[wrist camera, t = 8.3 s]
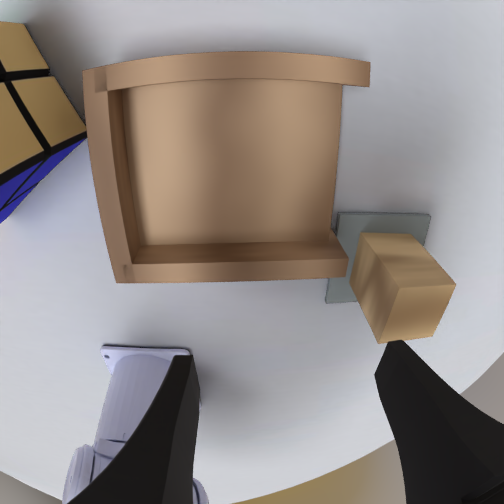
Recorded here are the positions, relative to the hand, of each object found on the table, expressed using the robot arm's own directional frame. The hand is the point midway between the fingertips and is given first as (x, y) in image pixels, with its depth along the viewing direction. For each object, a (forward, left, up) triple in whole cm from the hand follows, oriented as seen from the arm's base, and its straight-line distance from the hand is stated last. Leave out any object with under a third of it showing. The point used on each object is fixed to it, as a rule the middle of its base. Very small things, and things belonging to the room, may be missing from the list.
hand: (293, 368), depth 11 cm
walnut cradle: (+5, +2, -10) cm, 12 cm away
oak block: (-2, -8, -10) cm, 13 cm away
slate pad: (-2, -8, -10) cm, 13 cm away
